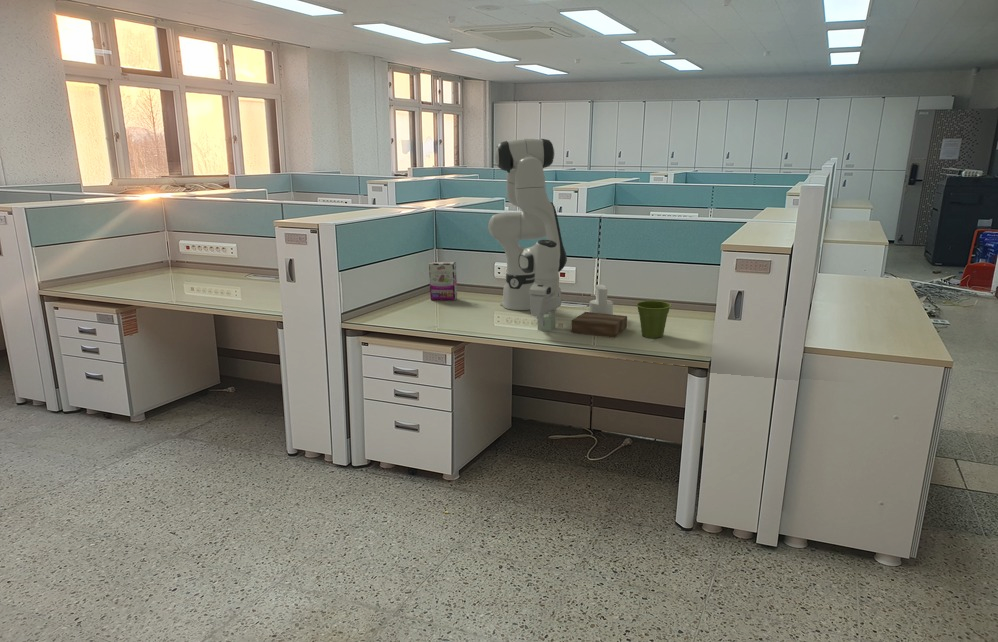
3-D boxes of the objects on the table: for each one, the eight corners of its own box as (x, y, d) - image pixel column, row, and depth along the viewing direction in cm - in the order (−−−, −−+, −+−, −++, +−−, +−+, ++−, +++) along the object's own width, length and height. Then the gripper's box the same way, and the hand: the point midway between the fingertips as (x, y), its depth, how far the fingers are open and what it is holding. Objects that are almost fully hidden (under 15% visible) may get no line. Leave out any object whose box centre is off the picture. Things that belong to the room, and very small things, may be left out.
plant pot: (631, 331, 239) (632, 301, 236) (663, 330, 239) (665, 300, 237) (640, 341, 227) (641, 308, 224) (674, 339, 228) (676, 307, 225)
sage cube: (543, 326, 247) (543, 313, 246) (555, 328, 245) (555, 315, 244) (537, 330, 243) (537, 316, 242) (550, 331, 241) (550, 318, 240)
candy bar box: (457, 298, 296) (456, 261, 292) (455, 300, 291) (453, 263, 287) (433, 297, 298) (431, 261, 294) (430, 300, 293) (428, 263, 289)
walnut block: (585, 324, 251) (585, 311, 250) (626, 329, 243) (627, 316, 242) (571, 333, 239) (571, 320, 238) (614, 339, 232) (614, 325, 230)
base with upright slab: (587, 314, 264) (588, 284, 261) (610, 314, 264) (611, 284, 261) (590, 320, 256) (591, 289, 253) (614, 319, 256) (615, 289, 253)
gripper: (550, 280, 250) (549, 316, 254) (526, 290, 233) (527, 328, 236) (565, 281, 248) (565, 317, 251) (543, 291, 230) (543, 330, 233)
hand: (546, 323), depth 243 cm, fingers open, 8 cm apart
